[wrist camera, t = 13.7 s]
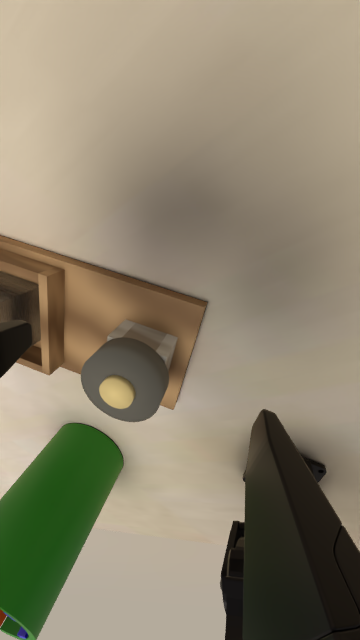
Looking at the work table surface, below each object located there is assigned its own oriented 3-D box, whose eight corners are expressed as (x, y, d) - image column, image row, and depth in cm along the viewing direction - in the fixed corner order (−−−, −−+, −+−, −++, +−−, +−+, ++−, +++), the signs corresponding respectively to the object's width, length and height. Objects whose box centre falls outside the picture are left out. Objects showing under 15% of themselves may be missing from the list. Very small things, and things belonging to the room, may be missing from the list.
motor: (49, 431, 36) (-146, 653, 18) (89, 414, 32) (-111, 676, 14) (95, 479, 38) (-40, 718, 20) (138, 468, 34) (15, 752, 17)
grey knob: (171, 388, 25) (149, 439, 19) (111, 365, 25) (74, 409, 20) (187, 334, 22) (165, 377, 16) (118, 310, 22) (77, 344, 17)
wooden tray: (176, 401, 27) (163, 435, 23) (-7, 332, 30) (-46, 351, 26) (207, 302, 21) (197, 325, 18) (-23, 228, 24) (-75, 233, 20)
